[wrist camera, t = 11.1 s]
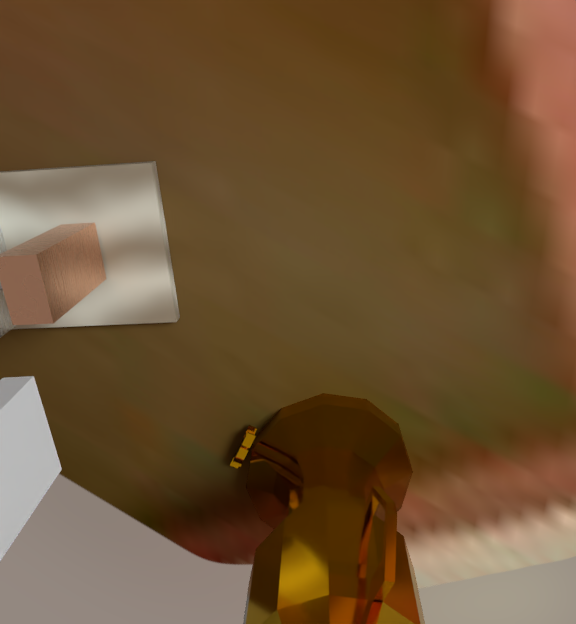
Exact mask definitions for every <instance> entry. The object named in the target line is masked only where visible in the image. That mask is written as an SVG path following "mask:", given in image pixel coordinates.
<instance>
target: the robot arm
mask: <svg viewBox="0 0 576 624" xmlns="http://www.w3.org/2000/svg"><path fill="white" fill-rule="evenodd" d="M61 470H62V468H61V465H60V462H59V458H58V455H57V452H56V448H55V445H54V442H53V439H52V435H51V432H50V429H49V425H48V422H47V419H46V415H45V412H44V409H43V406H42V402H41V399H40V396H39V392H38V389H37V386H36V382H35V379H34V376H28V377H10V378H2V379H1V380H0V561H1V559H2V558H3V556H4V555H5V553H6V552H7V550H8V549H9V547H10V546H11V544H12V543H13V541H14V540H15V538H16V537H17V535H18V534H19V532H20V531H21V529H22V528H23V526H24V525H25V523H26V522H27V520H28V519H29V517H30V516H31V514H32V513H33V511H34V510H35V508H36V507H37V505H38V504H39V502H40V501H41V499H42V498H43V496H44V495H45V494H46V492H47V491H48V489H49V487H50V486H51V484H52V483H53V482H54V480H55V478H56V477H57V476H58V474H59V473H60V471H61Z"/></svg>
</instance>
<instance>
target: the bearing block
mask: <svg viewBox="0 0 576 624" xmlns="http://www.w3.org/2000/svg"><path fill="white" fill-rule="evenodd" d="M5 251H7V248H6V244H5V240H4V237H3V233H2V229H1V226H0V252H5ZM15 326H16V325H13V324H12V321H11V317H10V314H9V310H8V307H7V303H6V300H5V296H4V292H3V290H0V337H2V336H3V335H4V334H6V333H7V332H8V331H10V330H11V329H12V328H14V327H15Z"/></svg>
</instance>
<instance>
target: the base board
mask: <svg viewBox="0 0 576 624" xmlns="http://www.w3.org/2000/svg"><path fill="white" fill-rule="evenodd" d="M78 223H95V225H96V230H97V235H98V240H99V244H100V249H101V254H102V259H103V264H104V269H105V274H106V280H105V281H103V282H102V283H101V284H100V285H99V286H98V287H96V288H95V289H94V290H93V291H92V292H90V293H89V294H88V295H87V296H86V297H84V298H83V299H82V300H81V301H80V302H79V303H77V304H76V305H75V306H74V307H73V308H71V309H70V310H69V311H68V312H67V313H66V314H64V315H63V316H62V317H61V318H60V319H58V320H57V321H56V322H55V323H54V324H32V325H16V326H15V327H14V328H12V329H27V328H50V327H73V326H97V325H120V324H143V323H166V322H177V321H178V319H179V317H180V315H179V309H178V302H177V296H176V289H175V283H174V277H173V270H172V264H171V257H170V251H169V245H168V238H167V232H166V225H165V219H164V212H163V206H162V200H161V193H160V187H159V180H158V174H157V168H156V161H151V162H136V163H122V164H107V165H92V166H77V167H62V168H47V169H32V170H17V171H2V172H0V226H1V229H2V233H3V237H4V240H5V244H6V248H7V250H9V249H11V248H13V247H15V246H17V245H19V244H22V243H24V242H26V241H28V240H30V239H32V238H34V237H36V236H38V235H40V234H42V233H44V232H46V231H48V230H50V229H53V228H55V227H57V226H59V225H61V224H78Z"/></svg>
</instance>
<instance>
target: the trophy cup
mask: <svg viewBox="0 0 576 624" xmlns="http://www.w3.org/2000/svg"><path fill="white" fill-rule="evenodd" d="M256 430H257V428H256V427H253V426H251V425H249V426H248V428H247V431H246V433H245V435H244V437H243V438H244V440H243V439H242V441H241V444H240V447H239V449H238V451H237V453H235V455H234V457H233V459H232V461H231V463H230V466H233V467H235V468H238V467H239V466H240V467H241V465H242V461H243V460H244V459H245V457H246V455H247V453H248V451H249V448H250V447H251V445H252V443H253V441H254V444H253V449H252V455H251V460H250V466H249V472H248V477H247V483H246V488H247V490H248V493H249V495H250V497H251V499H252V501H253V504H254V506H255V508H256V510H257V513H258V515H259V517H260V519H261V520H262V521H263V522H265V523H266V524H268V525H269V526H271V527H272V528H274V529H275V530H274V531H273V532H272V533H271V534H270V535H269V536H268V537H267V538H266V539H265V540H264V541H263V542H262V543H261V544H260V545H259V546H258V547H257V549H256V552H255V557H254V562H253V566H252V571H251V577H250V581H249V587H248V594H247V601H246V608H245V615H244V622H243V624H425V621H424V616H423V612H422V606H421V602H420V597H419V592H418V587H417V582H416V577H415V572H414V568H413V565H412V562H411V558H410V555H409V552H408V549H407V546H406V542H405V539H404V536H403V535H401V534H400V533H399V532H397V511H399V510H400V509H401V507H402V504H403V501H404V498H405V494H406V491H407V488H408V485H409V482H410V479H411V476H412V473H413V471H412V467H411V463H410V459H409V456H408V453H407V450H406V447H405V443H404V440H403V437H402V434H401V430H400V427H399V424H398V423H396V422H395V421H394V420H393V419H391V418H390V417H389V416H387V415H386V414H385V413H384V412H382V411H381V410H380V409H378V408H377V407H376V406H375V405H373V404H372V403H371V402H370V401H368V400H367V399H361V398H354V397H346V396H339V395H332V394H325V393H323V394H320V395H317V396H314V397H311V398H309V399H306V400H303V401H300V402H297V403H295V404H292V405H289V406H286V407H283V408H281V409H280V411H279V412H278V413H277V414H276V415H275V416H274V417H273V418H272V419H271V421H270V422H269V423H268V424H267V425H266V426H265V427H264V428H263V429H262V431H261V432H260V433H259V434H258V435H257V436H256V435H255V432H256Z"/></svg>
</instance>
